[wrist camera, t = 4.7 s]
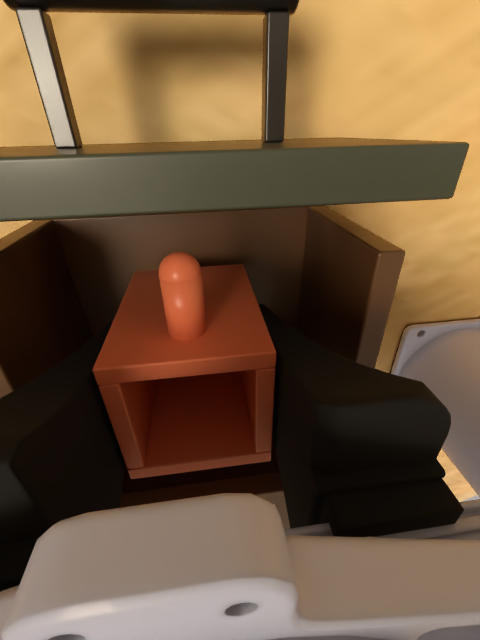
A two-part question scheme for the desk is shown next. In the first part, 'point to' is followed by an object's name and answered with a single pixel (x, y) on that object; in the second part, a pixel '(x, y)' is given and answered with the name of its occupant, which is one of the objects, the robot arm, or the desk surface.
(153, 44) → the desk surface
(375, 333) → the drawer
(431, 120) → the desk surface
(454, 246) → the desk surface
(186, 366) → the scoop
